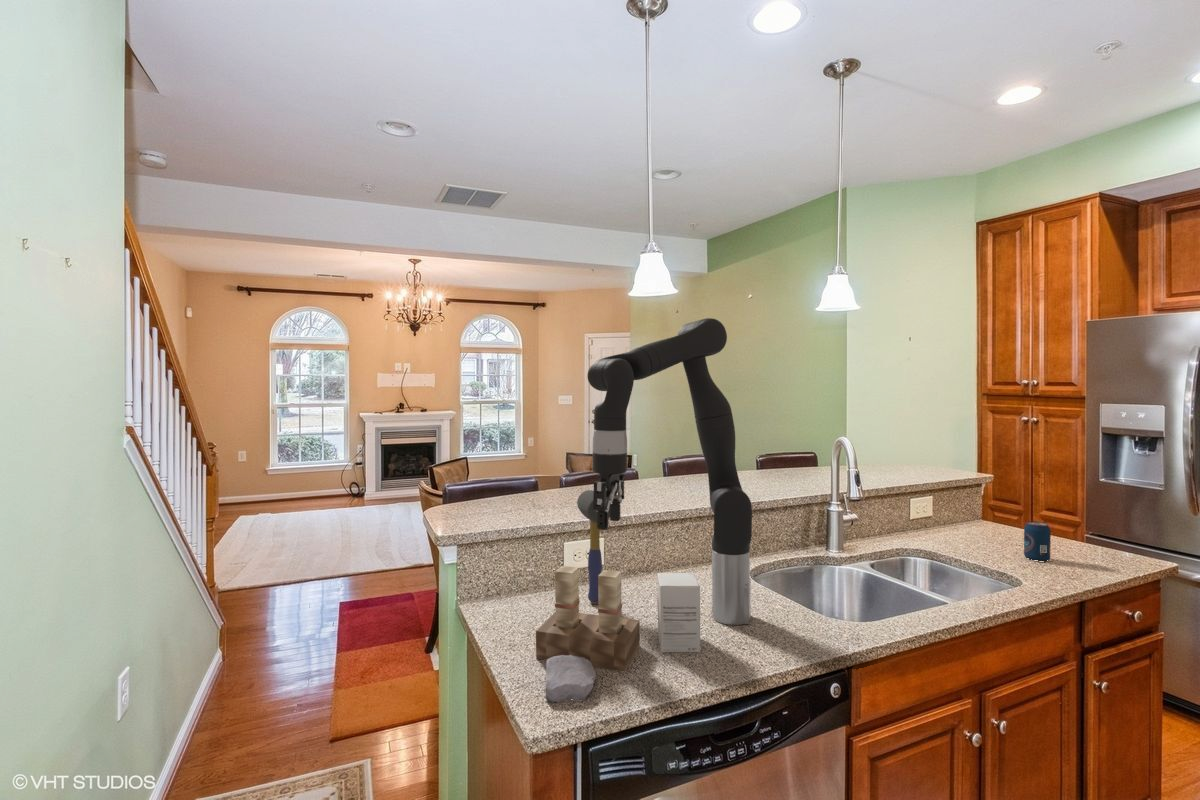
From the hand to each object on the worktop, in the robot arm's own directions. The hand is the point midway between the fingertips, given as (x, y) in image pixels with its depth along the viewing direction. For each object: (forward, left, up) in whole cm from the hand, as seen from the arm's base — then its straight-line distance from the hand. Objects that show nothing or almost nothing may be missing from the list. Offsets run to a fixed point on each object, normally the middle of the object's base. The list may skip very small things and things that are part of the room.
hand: (609, 524), depth 126 cm
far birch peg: (+10, +1, -23) cm, 25 cm away
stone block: (+3, +15, -29) cm, 33 cm away
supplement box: (-13, -9, -29) cm, 33 cm away
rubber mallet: (+13, -27, -29) cm, 41 cm away
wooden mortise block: (+5, +1, -28) cm, 29 cm away
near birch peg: (0, +1, -23) cm, 23 cm away
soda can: (-114, -104, -29) cm, 157 cm away
